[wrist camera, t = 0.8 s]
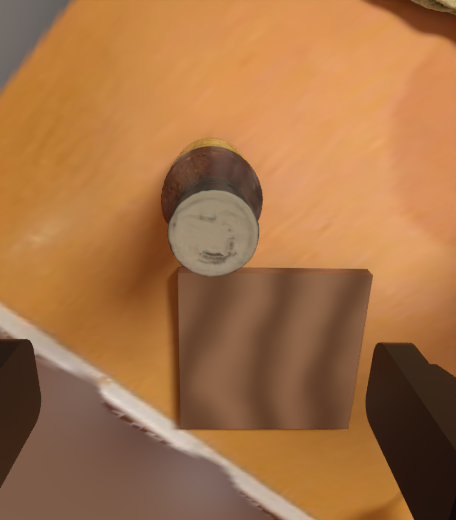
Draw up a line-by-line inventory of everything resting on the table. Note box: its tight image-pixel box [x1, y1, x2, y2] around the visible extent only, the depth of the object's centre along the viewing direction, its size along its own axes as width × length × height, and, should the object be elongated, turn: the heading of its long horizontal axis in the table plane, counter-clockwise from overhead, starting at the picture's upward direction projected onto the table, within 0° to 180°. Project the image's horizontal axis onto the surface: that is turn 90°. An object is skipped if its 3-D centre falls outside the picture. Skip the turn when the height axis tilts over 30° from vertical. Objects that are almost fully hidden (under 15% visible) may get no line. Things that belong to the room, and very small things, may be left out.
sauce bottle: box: [161, 138, 263, 277], centre depth 28 cm, size 7×6×20 cm
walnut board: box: [178, 267, 373, 429], centre depth 43 cm, size 18×18×2 cm
